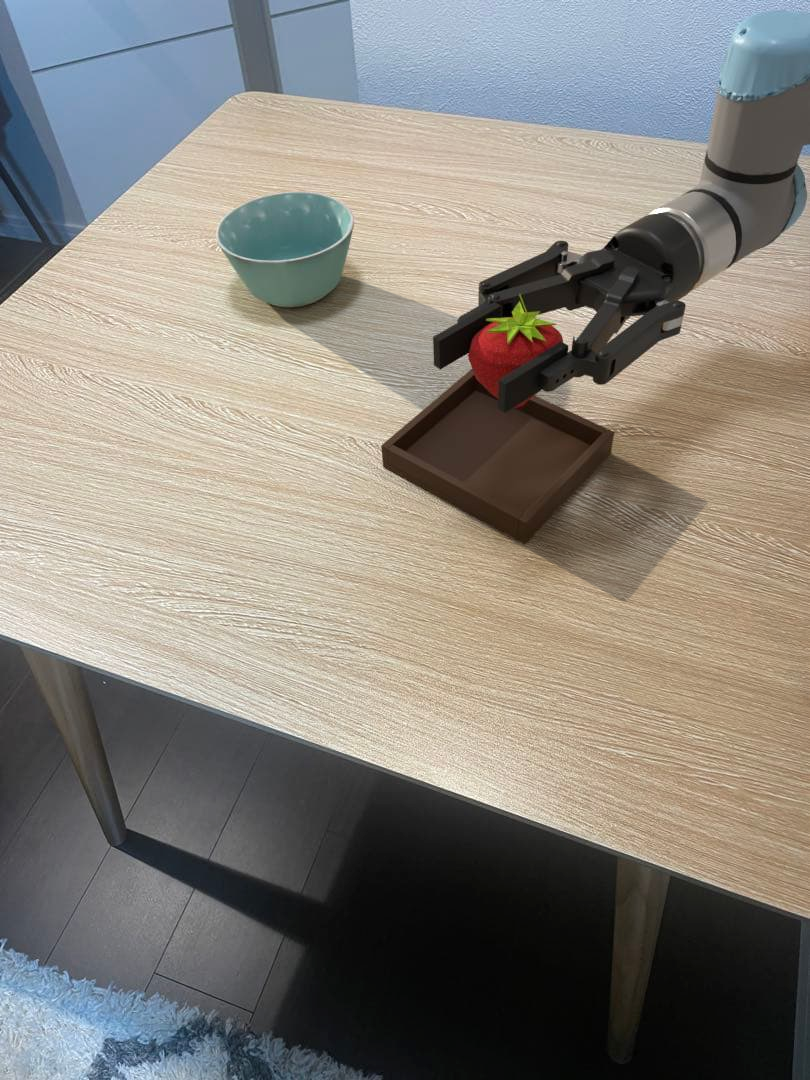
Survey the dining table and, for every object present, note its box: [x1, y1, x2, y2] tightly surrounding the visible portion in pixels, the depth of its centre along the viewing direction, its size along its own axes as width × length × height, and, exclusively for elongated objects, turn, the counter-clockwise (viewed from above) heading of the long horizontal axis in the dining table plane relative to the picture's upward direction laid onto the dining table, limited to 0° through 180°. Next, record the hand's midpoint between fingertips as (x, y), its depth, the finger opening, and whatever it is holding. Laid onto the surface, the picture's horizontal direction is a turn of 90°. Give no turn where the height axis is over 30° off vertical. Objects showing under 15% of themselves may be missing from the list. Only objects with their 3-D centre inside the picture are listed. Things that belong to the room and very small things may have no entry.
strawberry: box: [467, 294, 564, 408], centre depth 71 cm, size 6×8×10 cm
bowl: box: [215, 191, 355, 308], centre depth 107 cm, size 16×16×8 cm
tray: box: [380, 368, 615, 545], centre depth 87 cm, size 17×15×3 cm
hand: (468, 374), depth 68 cm, fingers closed on strawberry, 6 cm apart
